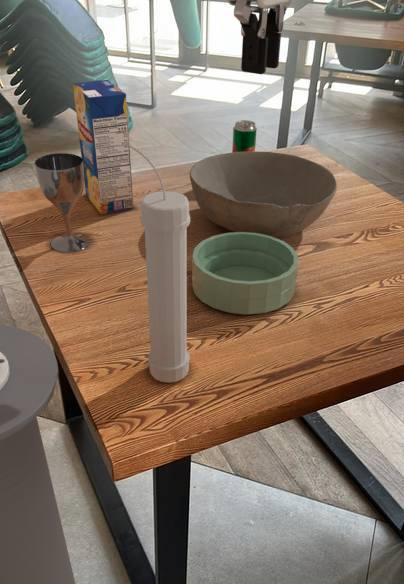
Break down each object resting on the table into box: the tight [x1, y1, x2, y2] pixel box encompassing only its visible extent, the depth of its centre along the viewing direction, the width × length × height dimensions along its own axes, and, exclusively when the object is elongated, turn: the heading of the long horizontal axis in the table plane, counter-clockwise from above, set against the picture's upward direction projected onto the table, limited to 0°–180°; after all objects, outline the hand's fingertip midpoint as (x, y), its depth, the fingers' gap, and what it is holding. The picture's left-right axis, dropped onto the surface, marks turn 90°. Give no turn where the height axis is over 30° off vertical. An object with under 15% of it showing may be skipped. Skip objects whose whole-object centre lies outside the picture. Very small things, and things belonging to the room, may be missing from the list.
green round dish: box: [191, 231, 299, 315], centre depth 92 cm, size 17×17×6 cm
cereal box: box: [72, 79, 134, 215], centre depth 113 cm, size 7×11×22 cm, turn 25°
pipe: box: [129, 144, 191, 384], centre depth 68 cm, size 6×6×30 cm
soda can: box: [231, 119, 258, 153], centre depth 127 cm, size 5×5×12 cm
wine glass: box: [34, 152, 91, 253], centre depth 100 cm, size 8×8×15 cm
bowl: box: [189, 150, 338, 238], centre depth 110 cm, size 28×28×10 cm
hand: (259, 68), depth 73 cm, fingers closed
